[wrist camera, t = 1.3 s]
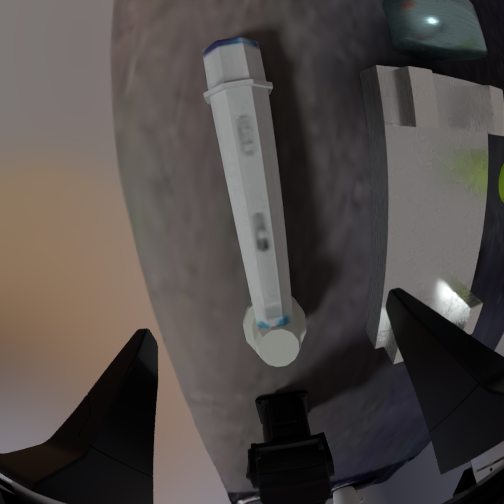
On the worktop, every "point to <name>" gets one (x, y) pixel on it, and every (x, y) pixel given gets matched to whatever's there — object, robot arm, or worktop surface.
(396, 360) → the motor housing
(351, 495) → the cup
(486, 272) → the worktop surface
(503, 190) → the soap dispenser
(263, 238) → the electric toothbrush handle
